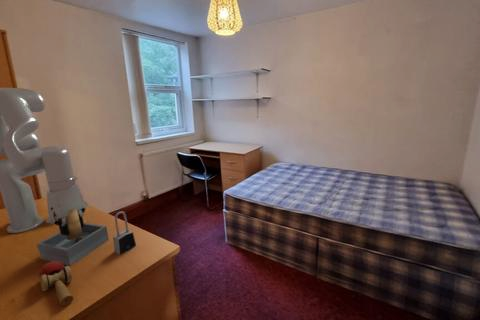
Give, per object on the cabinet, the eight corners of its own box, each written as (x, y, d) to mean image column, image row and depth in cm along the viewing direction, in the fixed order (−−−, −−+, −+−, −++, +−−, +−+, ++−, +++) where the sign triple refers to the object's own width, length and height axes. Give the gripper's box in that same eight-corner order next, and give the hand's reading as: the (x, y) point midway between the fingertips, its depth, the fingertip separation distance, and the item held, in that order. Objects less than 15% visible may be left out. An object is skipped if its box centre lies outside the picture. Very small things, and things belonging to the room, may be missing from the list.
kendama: (87, 297, 68) (67, 264, 79) (79, 283, 65) (60, 250, 76) (56, 319, 63) (39, 280, 74) (46, 305, 60) (30, 267, 71)
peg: (62, 238, 86) (56, 211, 83) (75, 231, 91) (69, 205, 88) (73, 240, 85) (66, 212, 82) (85, 233, 89) (79, 206, 87)
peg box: (41, 258, 84) (37, 244, 82) (82, 234, 99) (79, 221, 97) (70, 266, 80) (66, 250, 78) (108, 239, 94) (106, 226, 93)
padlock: (119, 255, 85) (113, 217, 81) (113, 251, 87) (107, 214, 83) (137, 245, 90) (131, 209, 86) (130, 242, 92) (125, 207, 89)
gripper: (76, 175, 92) (86, 218, 96) (27, 192, 76) (41, 242, 80) (91, 177, 89) (100, 220, 94) (44, 194, 74) (57, 245, 78)
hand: (73, 230), depth 87 cm, fingers closed on peg, 5 cm apart
